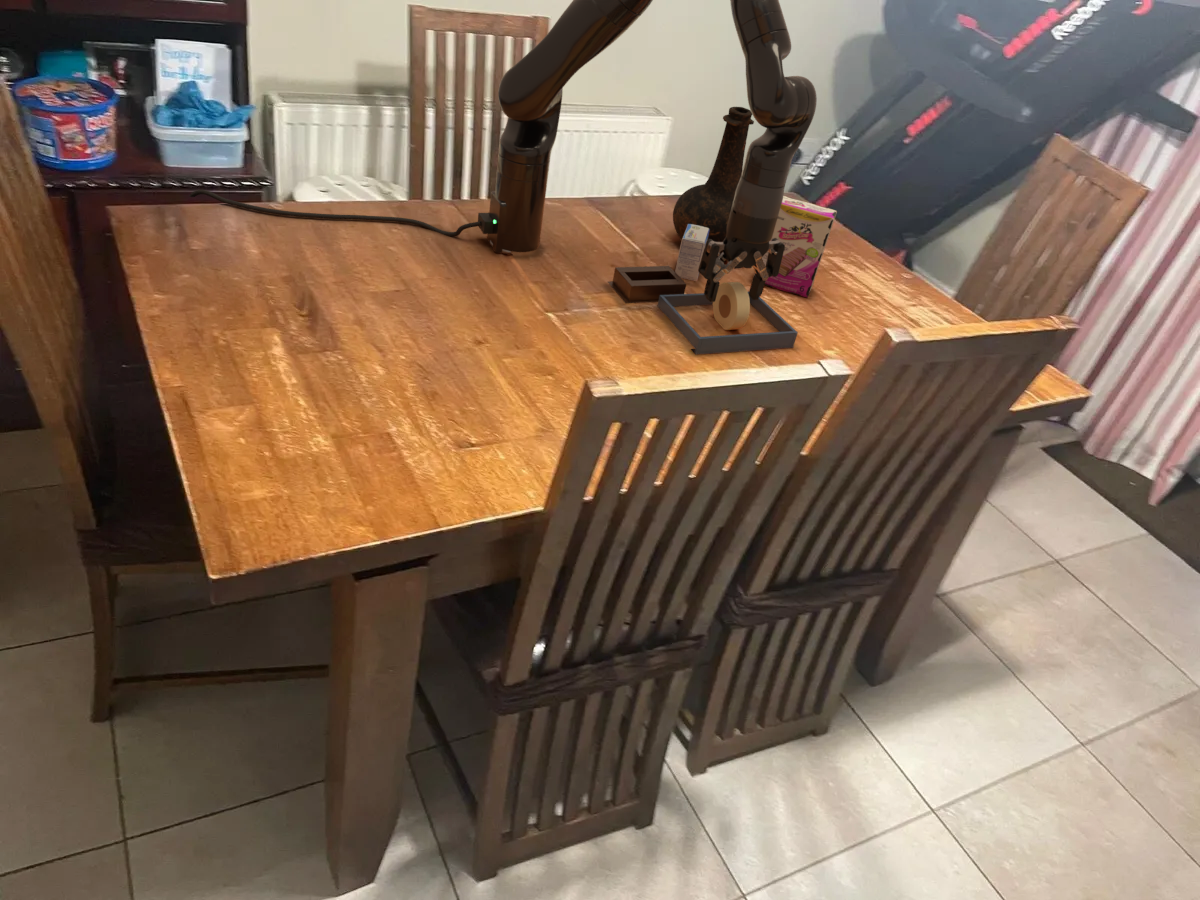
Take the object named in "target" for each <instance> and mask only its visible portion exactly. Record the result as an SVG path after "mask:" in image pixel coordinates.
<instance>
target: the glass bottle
mask: <svg viewBox="0 0 1200 900" xmlns="http://www.w3.org/2000/svg"><path fill="white" fill-rule="evenodd" d="M752 117H753V115H752V113H751V110H750V108H746V107H744V106H731V107H728V114H725V115H723V116H722V120H723V122H725V127H724V130H723V134H722V137H721V141H720V145H719V149H718V152H717V155H716V158H715V160H714V164H713V167H712V168H711V169H712V170H711V172H710V174H709V176H708V179H707V180H706V182H705V183H704V184H698V185H694V186H693V187H690V188H688V189H687V190H685V191H683V193H682V194H681V195H680V196H679V197H678V199H677V200H676V202H675V204H674V207H673V211H672V223H673V227H674V230H675V232H676V235H677V236H678V238H679V240H680V241H682V238H683V236H684V233H685V231H686V228H687V225H688V224H693V225H698V226H703V227H706V228H709V229H710V230H709V235H708V239H707V240H709V239H712V240H713V241H714V242H723V241H724V239H725V238H726V234H727V224H728V220H729V216H730V212H731V208H732V204H733V200H734V196H735V192H736V188H737V186H738V183H739V181H740V178H741V175H742V171H743V167H744V160H745V159H744V158H745V152H746V151H745V150H746V146H747V139H748V133H749V129H750V125H751V126H752V125H754V123H755V120H753V119H752ZM722 252H723V250H722V251H721V252H720V255H721V254H722ZM720 255H719V256H720ZM719 256H717V258H718V257H719Z"/></svg>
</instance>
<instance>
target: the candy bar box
mask: <svg viewBox="0 0 1200 900" xmlns="http://www.w3.org/2000/svg"><path fill="white" fill-rule="evenodd" d="M837 213H838V211H837V210H835V209H832V208H829V207H825V206H822V205H818V204H814V203H811V202H808V201H807V202H806V201H803V200H800V199H797V198H793V197H790V196H786V195H783V200H782V204H781V208H780V211H779V215H778V218H777V222H776V225H775V229H774V232H773V236H772V239H773V238H777V239H778V240H779V241H780V242H782V243H783V244H784V245H785V248H784V253H783V257H782V261H781V265H780V269H779V273H778V275H777V276H776V277H773V276H771V277H769V278H768V279H767V280H766V281H765V285H764V286H767V287H770V288H773V289H777V290H780V291H783V292H786V293H789V294H794V295H797V296H799V297H800V296H801V297H803V298H809V295H810V293H811V291H812V289H813V287H814V283H815V280H816V277H817V273H818V271H819V267H820V264H821V261H822V258H823V256H824V252H825V249H826V246H827V243H828V240H829V237H830V234H831V231H832V228H833V226H834V222H835V219H836V216H837ZM772 239H771V240H770V241H772ZM768 253H769V252H768V251H767V253H766V254H765V255H764V256H763V257H762V259H763V262H764V264H765V266H766V262H767V258H768ZM754 275H756V273H755V272H754Z"/></svg>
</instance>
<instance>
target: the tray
mask: <svg viewBox="0 0 1200 900" xmlns="http://www.w3.org/2000/svg"><path fill="white" fill-rule="evenodd" d="M749 291H750V290H749ZM749 291H748V290H747V292H748V295H749ZM749 299H750V306H752V307H753V308H754V309H756V311H757V312H759V313H760V314H761V315H762V316H763V318H765V319H766V321H768V322H769V323H770V324H771V325H772V326H773V327H774V328H775V329H776V330H777V331H772V332H758V333H757V332H756V333H754V332H753V333H741V334H739V333H737V334H725V335H709V336H707V335H706V336H700V335H699V333H698V332H697V331H696V330H695V329H694V328H693V327H692V326H691V324H689V322H688V321H687V320H686V319H685V318H684V317H683V316H682V314H680V313H679V311H678V310H677V309H676V307H691V306H694V307H695V306H710V305H711V306H713V302H710V301H709V300H708V299H707V298H706V296H705V295H704V292H701V293H684V294H674V295H660V296H659V300H658V302H657V307H658V309H660V311H661V312H662V313H663V314H664V315H665V317H666V318H668V320H669V321H670V322H671V323H672V324H673V325H674V327H675V328H676V329H677V330H678V331H679V332H680V333H681V335H683V337H684V338H685V339H686V340H687V341H688V342H689V343H690V345H692V347H693V348H690V350H691V352H692V353H693V354H694V355H697V356H698V355H711V354H722V353H723V354H724V353H738V352H739V353H740V352H752V351H766V350H767V351H768V350H780V349H781V350H782V349H793V348H794V345H795V343H796V340H797V337H798V333H799V332H798V331H797V330H796V329H795V328H794V327H793V326H791V324H789V323H788V322H787V321H786V320H785V319H784V318H783V317H782V316H781V315H780V314H779V313H778V312H776V310H774V309H773V308H772V307H771V306H770V305H769V304H768V303H767V302H766V301H765V300H764V299H763V298H761V296H759V299H758V300H753V299H752V298H751V297H750V296H749Z"/></svg>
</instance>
